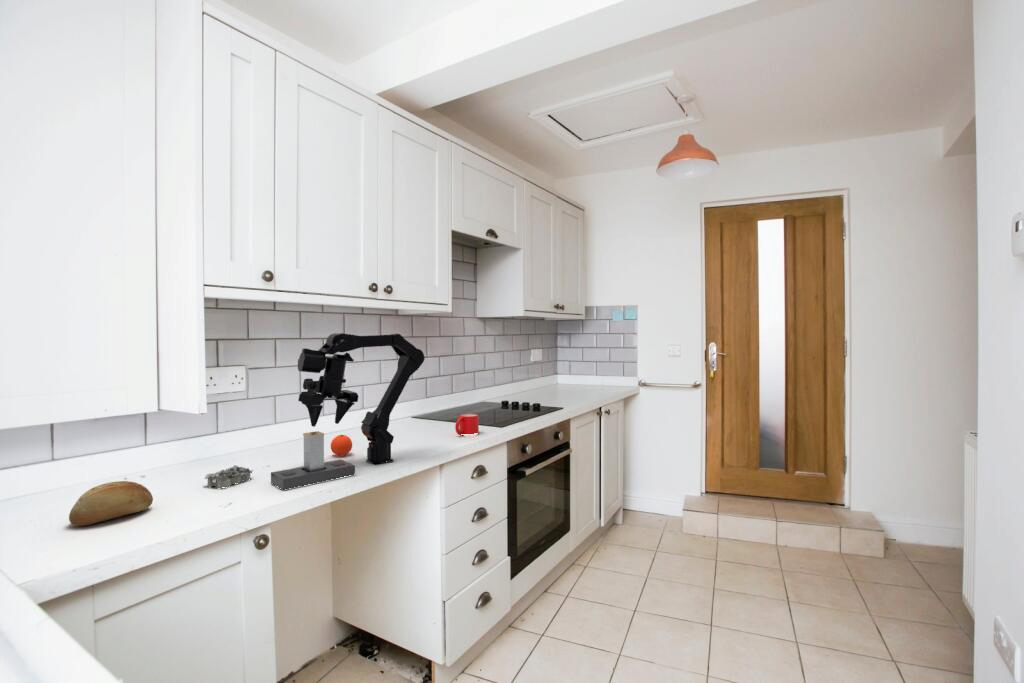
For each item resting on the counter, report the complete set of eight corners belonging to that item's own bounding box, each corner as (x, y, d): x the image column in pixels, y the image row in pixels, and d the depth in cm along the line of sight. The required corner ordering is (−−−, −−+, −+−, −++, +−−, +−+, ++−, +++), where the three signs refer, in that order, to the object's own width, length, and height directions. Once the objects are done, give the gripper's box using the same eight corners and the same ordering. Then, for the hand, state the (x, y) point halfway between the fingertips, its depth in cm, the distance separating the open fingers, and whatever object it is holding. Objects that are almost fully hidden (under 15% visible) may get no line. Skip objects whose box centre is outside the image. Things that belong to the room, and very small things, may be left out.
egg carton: (222, 491, 131) (222, 475, 130) (201, 488, 133) (201, 472, 133) (256, 479, 141) (255, 465, 140) (236, 476, 143) (235, 462, 143)
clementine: (328, 453, 170) (328, 433, 169) (350, 451, 173) (349, 431, 173) (332, 459, 162) (331, 437, 162) (354, 456, 166) (353, 435, 165)
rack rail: (340, 469, 150) (340, 459, 150) (354, 475, 144) (354, 464, 144) (270, 483, 136) (270, 472, 136) (283, 490, 130) (283, 479, 130)
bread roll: (161, 512, 114) (161, 478, 114) (77, 534, 102) (77, 495, 102) (144, 504, 120) (144, 471, 120) (63, 524, 107) (62, 487, 107)
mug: (448, 436, 198) (448, 417, 197) (466, 431, 208) (466, 412, 208) (464, 439, 193) (464, 418, 193) (482, 433, 204) (482, 414, 203)
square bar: (318, 476, 143) (317, 431, 143) (324, 479, 140) (324, 433, 140) (303, 479, 140) (303, 433, 140) (309, 482, 137) (309, 435, 137)
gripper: (337, 369, 162) (329, 416, 163) (289, 368, 145) (280, 421, 146) (363, 376, 157) (354, 424, 158) (317, 376, 141) (307, 430, 141)
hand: (325, 424), depth 151 cm, fingers open, 9 cm apart
